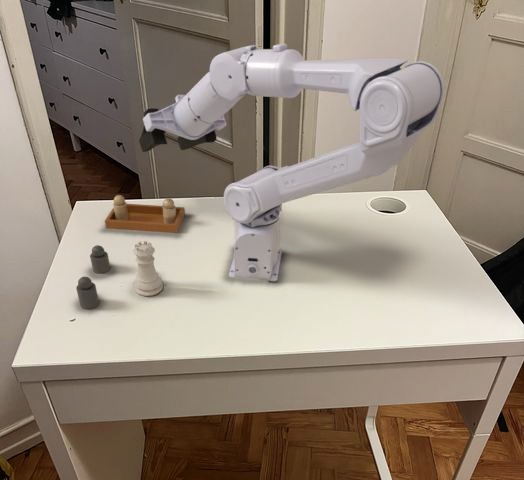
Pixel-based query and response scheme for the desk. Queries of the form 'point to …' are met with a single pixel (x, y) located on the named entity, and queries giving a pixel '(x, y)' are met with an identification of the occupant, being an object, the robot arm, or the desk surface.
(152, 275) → the rook chess piece
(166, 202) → the ivory piece
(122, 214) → the ivory piece
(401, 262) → the desk surface
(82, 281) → the grey pawn
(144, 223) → the oak tray
